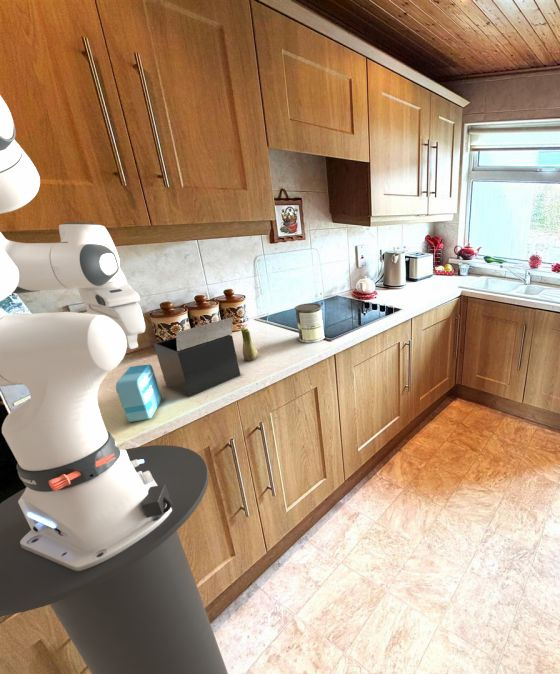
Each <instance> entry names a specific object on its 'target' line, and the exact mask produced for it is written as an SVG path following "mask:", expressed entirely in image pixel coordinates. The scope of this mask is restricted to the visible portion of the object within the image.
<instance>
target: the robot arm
mask: <svg viewBox="0 0 560 674" xmlns="http://www.w3.org/2000/svg"><path fill="white" fill-rule="evenodd" d="M16 133H17V131H16V125H15V121H14V119H13V116H12V112H11V111H10V109H9V107H8V105H7V103H6V101H5V99H4V98H3V96H2V95H1V94H0V215H1V214H6V213H10V212H14V211H16V210H18V209H21V208H23V207H24V206H26V205H27V204H29V203H30V202H32V200H33V199H35V197H36V196H37V194H38V192H39V191H40V190H39V189H40V186H41V177H40V174H39V171H38V170H37V167H36V166H35V164H34V163H33V161H32V160H31V158H30V157H29V155H28V154H27V153H26V152H25V150H24V149H23V148H22V147H21V145H20V144H19V142H18V141H16V135H17V134H16ZM58 233H59V237H60V242H35V243H34V242H29V243H27V242H19V241H14V240H10V239H7V238H6V237H5V236H4V234H3V233H2V232H1V231H0V302H2V301H3V300H5V299H7V298H8V297H9V296H10V295H12V294H15V295H16V294H26V293H34V292H41V291H56V290H57V291H58V290H73V289H77V290H78V293H79V296H80V298H81V301H82V302H83V303H84V306H85V309H86V313H85V312H75V311H56V312H55V311H53V312H38V313H37V312H36V313H18V314H17V313H9V312H7V311H5V310H3V309H2V308H1V307H0V387H7V386H16V385H17V386H18V385H23V386H24V387H26V388H27V390H28V392H29V396H30V399H27V400H26V401H24V402H23V403H20V404H19V405H18V406H16V407H15V408H13V410H11V411H10V412H9V413H8V414H7V415H6V417H5V418H4V420H3V423H2V426H1V434H2V436H3V437H4V439H5V442H6V443H7V446H8V447H9V449H10V450H11V452H12V454H13V456H14V458H15V460H16V461H17V462H16V463H17V464H16V470H17V475H18V478H19V479H20V480H21V481H22V483H23V484H24V486H25V488H26V490H25V492H24V493H23V495H22V496H21V497H20V499H19V501H18V503H19V505H20V507H21V509H22V511H23V513H24V515H25V518H26V520H27V522H28V524H29V526H30V528H31V531H30V532H28V533H27V534H26V535H25V536H24V537H23V538H22V540H21V541H20V544H21V547H22V548H23V549H25V550H28V551H30V552H32V553H35V554H37V555H39V556H42V557H44V558H46V559H49V560H51V561H53V562H56V563H58V564H60V565H63V566H65V567H67V568H70V569H72V570H75V571H82V570H85V569H88V568H90V567H93V566H95V565H97V564H100V563H102V562H104V561H106V560H108V559H110V558H111V557H113V556H115V555H117V554H118V553H120V552H122V551H123V550H125V549H127V548H128V547H130V546H131V545H133V544H134V543H136V542H137V541H139V540H140V539H142V538H143V537H145V536H146V535H147V534H149V533H150V532H151V531H153V530H154V529H155V528H156V527H158V526H159V525H160V524H161V523H162V522H163V521H164V520H165V519H166V518H167V517H168V516H169V514H170V513H171V512H172V508H171V506H172V502H171V500H170V499H169V493H168V491H167V488H166V485H165V484H162V485H158V486H157V484H156V482H155V481H154V479H153V477H152V475H151V473H150V471H146V472H141V471H140V472H136V470H135V469H134V468H135V467H137V466H139V464H140V463H144V460H143V459H142V460H137V459H136V460H133V461H130V460H129V457H128V455H127V452H126V450H125V449H120V448H119V446H118V442H117V441H116V439H115V437H113V435H112V433H111V432H110V431H108V430H107V428H106V425H105V422H104V420H103V417H102V413H101V410H100V407H99V402H98V401H99V400H98V393H99V389H100V386H101V384H102V382H103V381H104V379H105V378H106V377H107V375H108V374H110V372H111V371H113V370H115V369H116V368H117V367H118V366H119V365H120V364H121V362H122V361H123V359H124V358H125V355H126V353H127V349H130V350H134V349H138V348H139V344H138V335H139V334H143V333H145V332H146V322H145V318H144V315H143V311H142V308H141V306H140V304H139V303H138V302H140V301H141V297H140V294H139V293H138V292H137V291H136V290H134V289H133V288H132V287H131V286H130V284H129V282H128V281H127V278H126V276H125V274H124V272H123V270H122V269H121V259H120V257H119V253H118V250H117V248H116V245H115V243H114V241H113V239H112V236H111V234H110V233H109V231H108V230H107V228H106V226H104V225H102V224H99V223H95V222H94V223H93V222H77V221H76V222H63V223H61V224H58Z"/></svg>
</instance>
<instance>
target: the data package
mask: <svg viewBox="0 0 560 674" xmlns="http://www.w3.org/2000/svg"><path fill="white" fill-rule="evenodd" d="M115 388H116V393H117V395H118V398H119V401H120V404H121V407H122V408H123V411H124V415H125V417H126V419H127V421H128V423H132V422H138V421H146V420H150V419H152V417H154V414H155V413H156V411H157V409H158V407H159V405H160V404H161V402H162V393H161V391H160V387H159V384H158V380H157V378H156V375H155V371H154V369H153V366H152V364H150V363H149V364H141V365H133V366H129V367H128V368H127V370H126V371H125V372H124V373H123V374H122V376H120V378H119V379H118V380H117V381H116V384H115Z"/></svg>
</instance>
